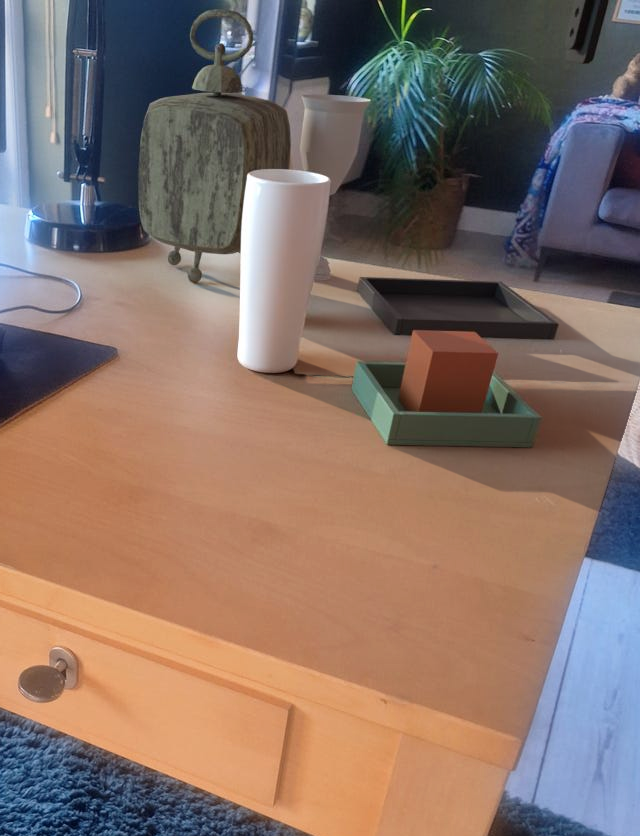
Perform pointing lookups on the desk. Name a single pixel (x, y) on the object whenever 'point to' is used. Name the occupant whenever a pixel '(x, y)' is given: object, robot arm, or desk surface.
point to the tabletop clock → (207, 156)
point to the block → (447, 372)
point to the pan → (455, 308)
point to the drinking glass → (278, 263)
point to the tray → (443, 413)
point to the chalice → (330, 142)
